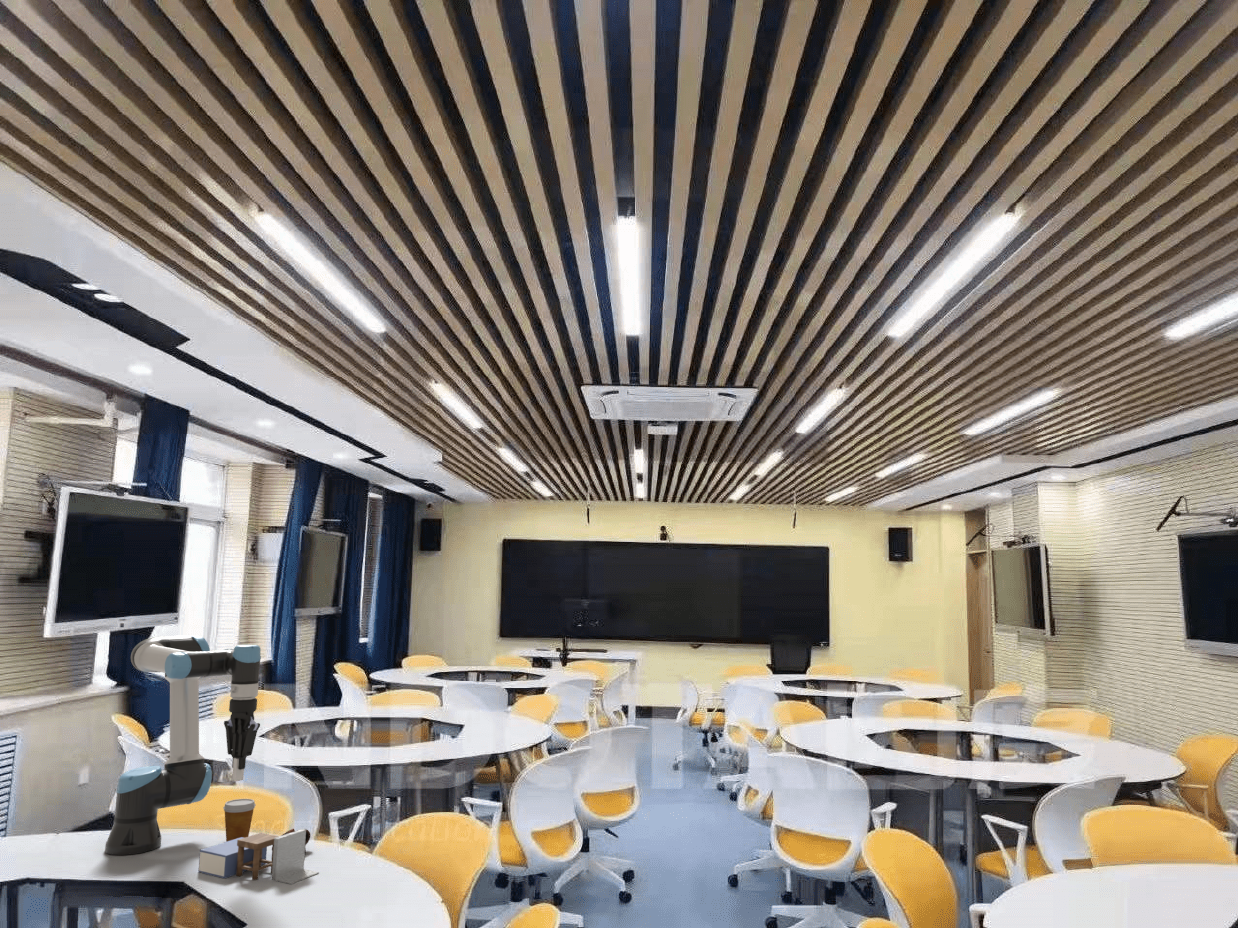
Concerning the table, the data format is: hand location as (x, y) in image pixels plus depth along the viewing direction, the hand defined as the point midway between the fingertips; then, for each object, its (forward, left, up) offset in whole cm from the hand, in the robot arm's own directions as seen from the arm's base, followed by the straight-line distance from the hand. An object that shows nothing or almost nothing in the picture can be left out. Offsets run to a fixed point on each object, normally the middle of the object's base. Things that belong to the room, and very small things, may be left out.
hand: (237, 780), depth 247 cm
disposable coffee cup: (-20, +18, -25) cm, 36 cm away
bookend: (+22, +3, -24) cm, 33 cm away
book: (+1, 0, -24) cm, 24 cm away
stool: (+7, 0, -19) cm, 21 cm away
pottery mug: (+5, +18, -25) cm, 31 cm away
